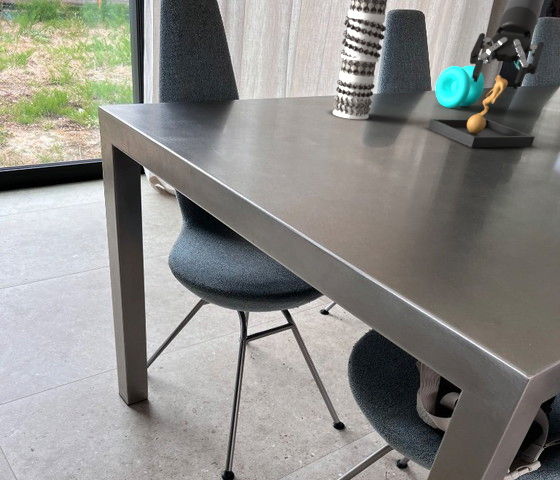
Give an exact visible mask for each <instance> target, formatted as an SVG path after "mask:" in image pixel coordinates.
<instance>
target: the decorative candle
mask: <svg viewBox="0 0 560 480" xmlns="http://www.w3.org/2000/svg"><path fill="white" fill-rule="evenodd" d="M387 3H388V0H351V1H350V7H349V10H348V13H347V14H348V15H347V16H345V17H346V18H347V19H345V20H344V22H343V25H344V26H345V28H346V29H345V30H344V31H343V33H342V36H343V37H344V38H343V39H342V41H341V44H342V45H343V46H344V48H343V49H341V52H340V53H341V56H340V58H342V61H341V67H340V68H341V69H340V71H339V77H338V78H339V79H337V81H336V84H337V85H338V86H337V87H336V88H335V91H336V92H337V94H336V95H335V96H334V101H335V102H334V103H333V108H334V109H333V111H332V114H333V115H334V116H337V117H340V118H344V119H349V120H367V119H369V113H370V111H371V107H370V106H371V105H372V102H373V101H372V99H371V97H372V96H373V95H374V92H373V91H372V90H373V89H374V88H375V84H374V82H375V77H376V75H375V71H376V65H377V63H378V62H379V61H380V58H381V54H380V53H379V51H381V50H382V49H383V46H382V45H381V44H380V41H382V40H384V39H385V35H384V34H383V33H384V32H385V31H386V30H387V27H386V26H385V25H384V24H385V22H386V17H387V16H386V15H387V14H386V11H387V10H386V9H387Z"/></svg>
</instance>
